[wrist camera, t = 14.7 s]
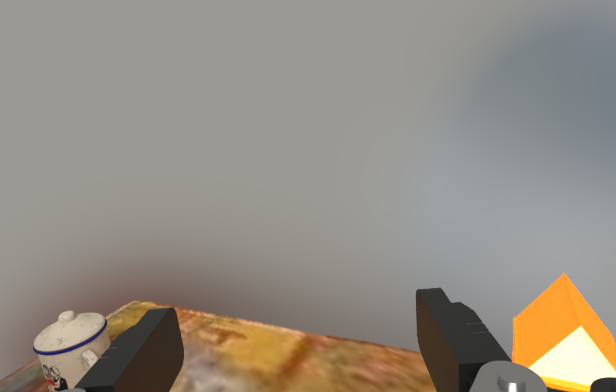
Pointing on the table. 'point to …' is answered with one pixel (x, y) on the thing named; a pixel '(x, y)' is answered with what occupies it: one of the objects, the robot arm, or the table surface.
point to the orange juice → (563, 340)
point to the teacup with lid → (71, 348)
